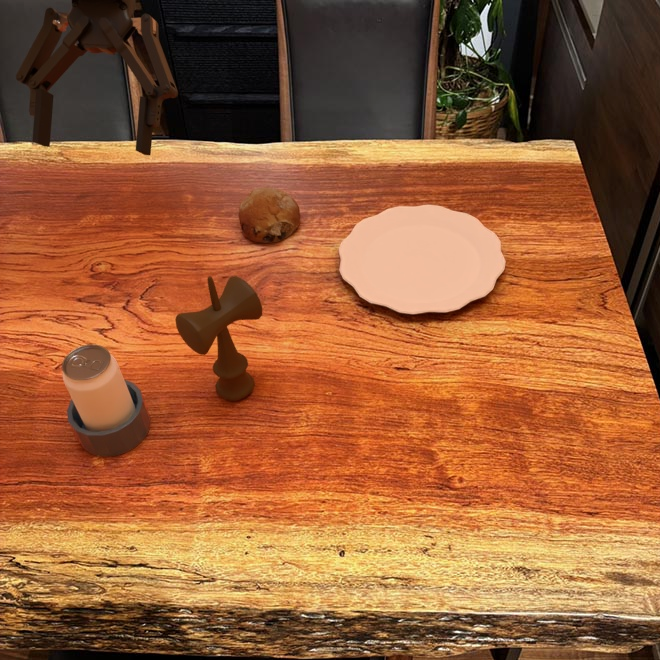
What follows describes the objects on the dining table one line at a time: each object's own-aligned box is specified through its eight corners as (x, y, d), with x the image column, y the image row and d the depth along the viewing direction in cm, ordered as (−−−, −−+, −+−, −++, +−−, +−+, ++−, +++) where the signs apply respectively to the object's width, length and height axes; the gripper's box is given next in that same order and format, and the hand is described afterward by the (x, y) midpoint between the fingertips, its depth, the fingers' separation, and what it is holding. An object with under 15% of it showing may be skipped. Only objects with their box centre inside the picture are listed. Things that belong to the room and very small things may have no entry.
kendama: (277, 379, 108) (258, 266, 93) (223, 421, 104) (193, 310, 89) (248, 358, 111) (224, 245, 96) (193, 398, 106) (159, 286, 91)
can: (102, 401, 106) (74, 337, 97) (147, 409, 105) (123, 346, 96) (79, 439, 102) (47, 377, 93) (125, 448, 101) (98, 386, 91)
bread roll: (306, 233, 134) (307, 185, 131) (290, 248, 125) (291, 197, 122) (249, 228, 136) (249, 180, 132) (229, 242, 126) (228, 191, 123)
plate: (438, 195, 134) (438, 186, 133) (537, 278, 120) (539, 268, 119) (309, 251, 126) (308, 241, 124) (399, 347, 112) (399, 337, 110)
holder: (63, 442, 102) (51, 420, 99) (107, 391, 108) (98, 369, 104) (122, 466, 99) (112, 445, 96) (164, 413, 105) (156, 391, 102)
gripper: (212, -8, 101) (197, 162, 102) (28, -19, 104) (16, 147, 106) (191, -35, 93) (174, 150, 95) (-7, -45, 97) (-19, 133, 98)
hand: (91, 149), depth 100 cm, fingers open, 13 cm apart
